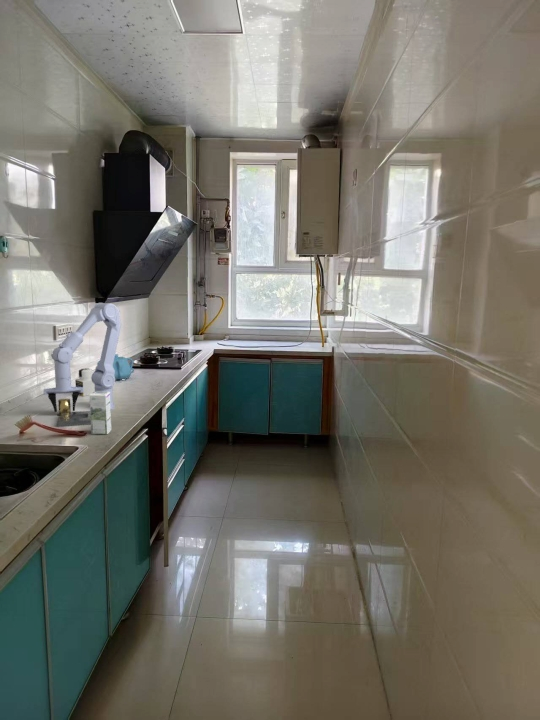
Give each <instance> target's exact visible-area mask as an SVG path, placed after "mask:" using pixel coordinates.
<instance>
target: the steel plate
mask: <svg viewBox="0 0 540 720" xmlns="http://www.w3.org/2000/svg"><path fill="white" fill-rule="evenodd" d="M57 423H58V428H62V427H63V428H64V427H77V426H78V427H79V426H91V414H90V410H86V411H85V410H83V411H71V412H64V413H61V416H59V419H58V422H57Z"/></svg>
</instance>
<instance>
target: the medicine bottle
mask: <svg viewBox="0 0 540 720" xmlns="http://www.w3.org/2000/svg"><path fill="white" fill-rule="evenodd" d="M92 374H93V369H92V368H81V369H79V370H78V378H75V380H74V381H75V387H83V393H80V392H79V396H82V397H89V396H90V394H91V393H93V392H95V384H94V383H93V382H92V379H91V377H92ZM88 395H89V396H88Z"/></svg>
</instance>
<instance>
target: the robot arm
mask: <svg viewBox="0 0 540 720" xmlns="http://www.w3.org/2000/svg"><path fill="white" fill-rule="evenodd" d="M120 313H121V312H120V310H119V308H118V307H117V306H116V305H115V304H113V303H104V302H98V303H96V304H95V305H94V306H93V308H91V309H90V312H89V313H88V314H87V316H86V317H85V319H84V320H83V321H82V322H81V323H80V325H79V327H78V328H77V329H76V330H75V331H70V333H67V334H66V337H65V338H64V340H63V341H62V342H61V343H59V344H58V347H55V348H54V349H53V350H52V354H50V356H51V359H52V360H53V361H54V379H55V380H54V381H55V383H54V384H55V387H52V388H44V389H43V395H47V398H48V399H49V401H50V403H51V404H52V408H53V410H54V413H57V412H58V407H57V394H71V397H72V412H76V404H77V400H78V398H79V396H80V395H79V392H80V393H83V387H76V386H72V377H71V376H72V373H71V372H72V371H71V360H72V359H73V356H74V355H73V354H74V353H75V352H76V350H77V349H78V348H79V347H80V346H81V344H83V342H84V336H85V335H86V334H87V333H88V332H89V331H90V330H91V329H92V328H93V327H94V325H96V323H98V322H103V324H104V325H105V326H106V331H105V336H104V341H103V346H102V350H101V355H100V359H99V361H100V363H99V364H98V365H97V364H96V367H95V369H94V371H93V372H92V377H91V379H92V382H93V383H94V384H95V392H110V411H111V410H115V402H114V392H113V391H114V388H113V387H114V386H115V383H116V380H115V376H114V374H115V370H114V368H113V362H114V357H115V354H116V352H117V348H118V341H119V337H120V334H121V330H122V329H121V328H122V322H121V317H120Z"/></svg>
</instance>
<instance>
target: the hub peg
mask: <svg viewBox="0 0 540 720" xmlns="http://www.w3.org/2000/svg"><path fill="white" fill-rule="evenodd" d="M57 402H58V414H59V415H60V416H61V413H64V412H72V411H71V409H72V408H71V399H70V398H67V397H66V398H65V397H64V398H60V399H58V401H57ZM60 416H59V417H60Z"/></svg>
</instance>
